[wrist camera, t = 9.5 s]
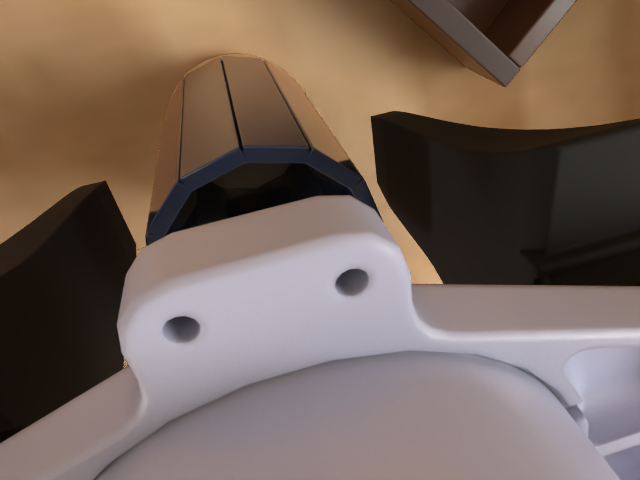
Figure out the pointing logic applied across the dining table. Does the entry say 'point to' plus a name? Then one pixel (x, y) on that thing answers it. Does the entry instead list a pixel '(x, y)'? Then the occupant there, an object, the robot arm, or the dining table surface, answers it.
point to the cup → (243, 147)
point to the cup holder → (488, 30)
